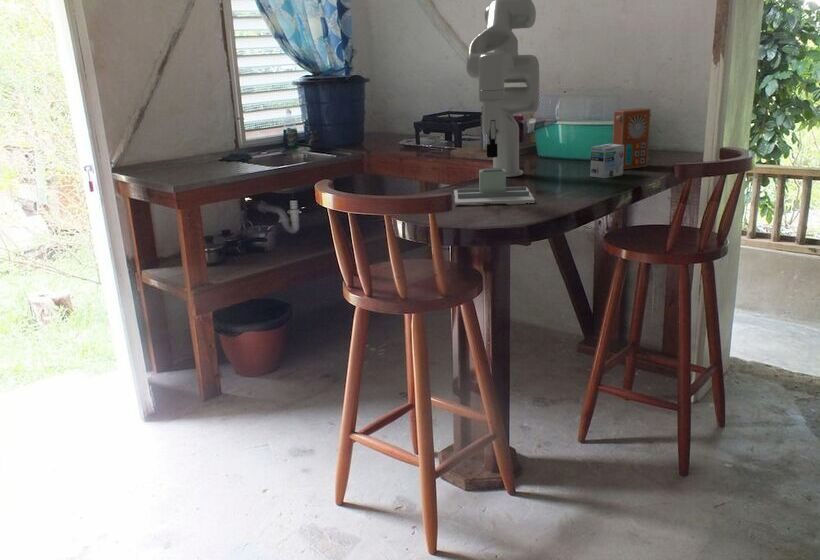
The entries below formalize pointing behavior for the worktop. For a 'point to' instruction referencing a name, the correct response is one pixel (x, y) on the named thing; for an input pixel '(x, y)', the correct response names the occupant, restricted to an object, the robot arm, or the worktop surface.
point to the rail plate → (494, 196)
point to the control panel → (632, 135)
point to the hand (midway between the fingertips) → (492, 156)
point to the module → (492, 180)
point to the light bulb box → (607, 160)
